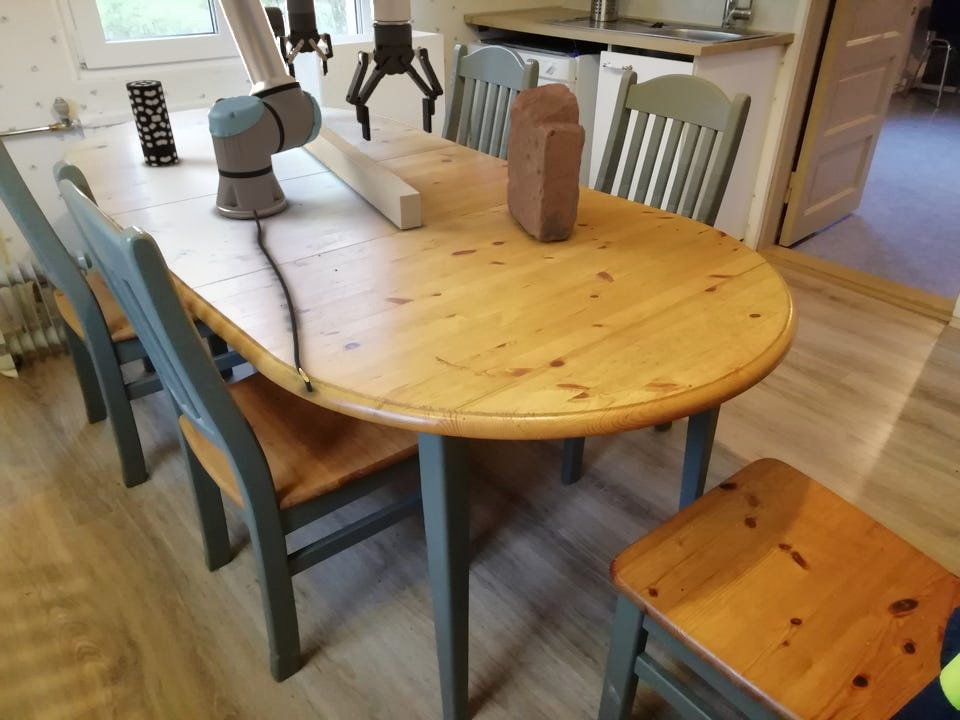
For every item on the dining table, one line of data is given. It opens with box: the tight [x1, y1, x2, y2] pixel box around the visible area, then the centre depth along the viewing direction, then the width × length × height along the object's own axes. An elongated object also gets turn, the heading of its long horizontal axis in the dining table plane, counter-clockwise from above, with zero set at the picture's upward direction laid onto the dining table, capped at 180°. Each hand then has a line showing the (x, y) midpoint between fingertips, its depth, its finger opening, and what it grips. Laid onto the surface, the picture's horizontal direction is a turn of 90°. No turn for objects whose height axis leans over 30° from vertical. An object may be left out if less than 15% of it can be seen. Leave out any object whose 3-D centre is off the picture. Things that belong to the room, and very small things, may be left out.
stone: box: [506, 82, 586, 242], centre depth 144 cm, size 22×11×28 cm, turn 18°
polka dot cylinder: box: [125, 79, 179, 167], centre depth 181 cm, size 8×8×20 cm
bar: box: [303, 122, 422, 231], centre depth 173 cm, size 73×5×7 cm, turn 29°
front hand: (397, 135), depth 143 cm, fingers open, 13 cm apart
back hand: (308, 76), depth 187 cm, fingers open, 8 cm apart
